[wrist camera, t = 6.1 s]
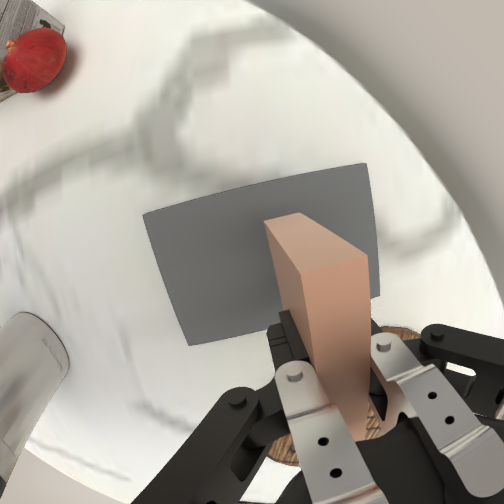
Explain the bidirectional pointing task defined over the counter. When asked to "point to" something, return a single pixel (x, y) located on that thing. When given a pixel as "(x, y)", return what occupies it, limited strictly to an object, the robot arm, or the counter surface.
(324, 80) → the counter surface
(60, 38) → the pomegranate
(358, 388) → the tile
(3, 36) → the coffee box
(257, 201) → the mat
